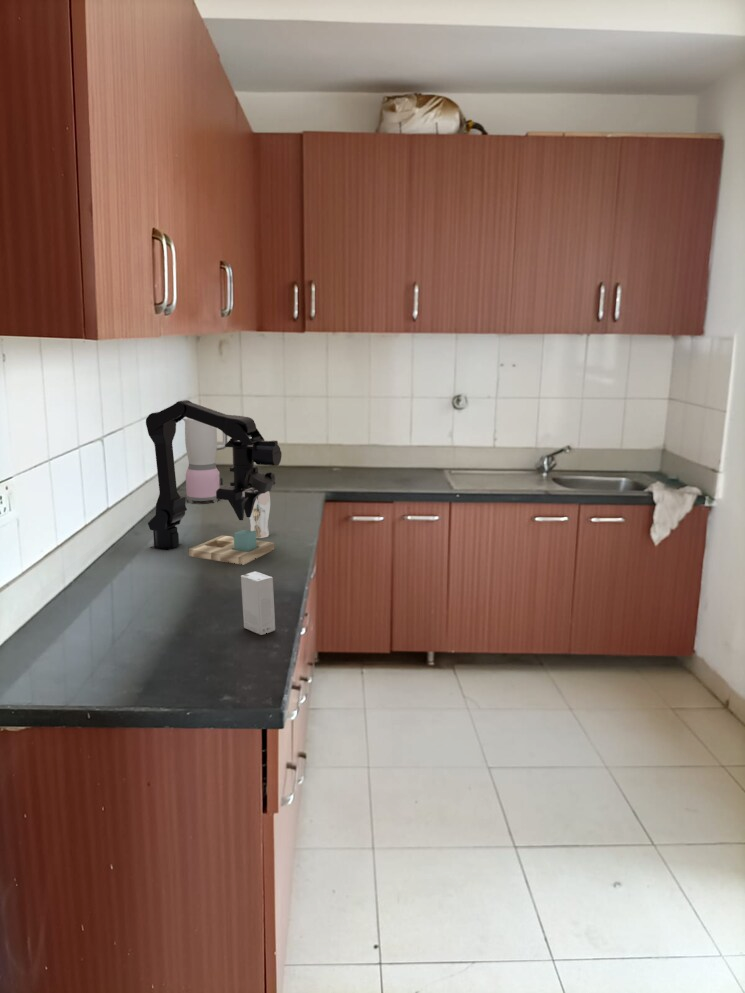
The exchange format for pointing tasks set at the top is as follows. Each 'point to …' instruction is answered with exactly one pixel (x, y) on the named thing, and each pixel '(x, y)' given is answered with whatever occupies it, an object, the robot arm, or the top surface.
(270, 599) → the skincare box
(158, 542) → the robot arm
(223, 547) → the pocket board
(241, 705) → the top surface
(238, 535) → the teal block
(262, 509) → the beer glass
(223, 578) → the top surface
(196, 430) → the blender
